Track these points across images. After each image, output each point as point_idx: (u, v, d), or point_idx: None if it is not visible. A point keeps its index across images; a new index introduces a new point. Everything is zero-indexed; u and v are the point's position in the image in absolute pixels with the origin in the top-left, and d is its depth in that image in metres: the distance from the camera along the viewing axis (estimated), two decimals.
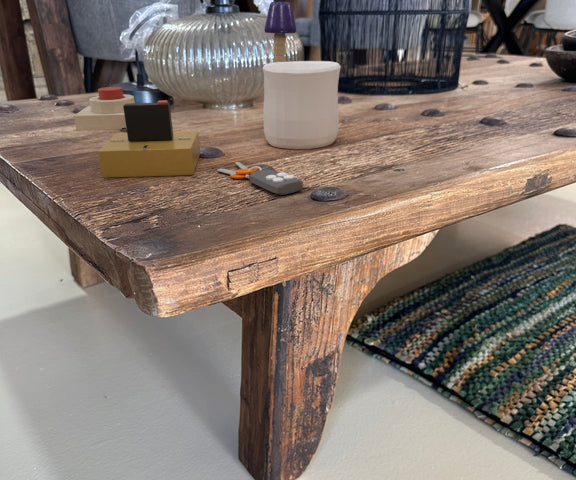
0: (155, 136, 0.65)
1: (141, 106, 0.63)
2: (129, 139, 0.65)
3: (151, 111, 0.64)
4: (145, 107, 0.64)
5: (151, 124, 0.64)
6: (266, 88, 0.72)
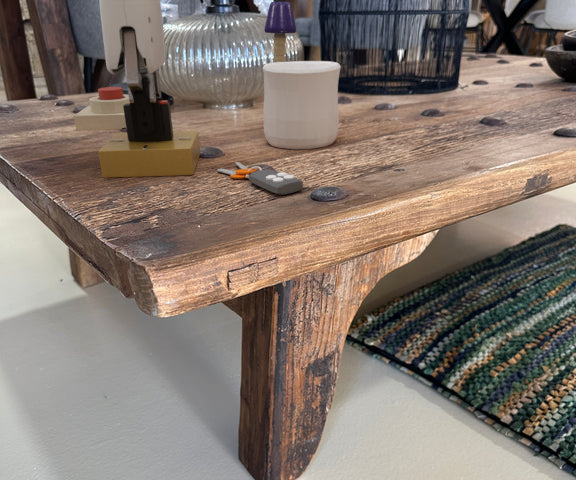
0: None
1: None
2: (129, 139, 0.65)
3: None
4: None
5: None
6: (266, 88, 0.72)
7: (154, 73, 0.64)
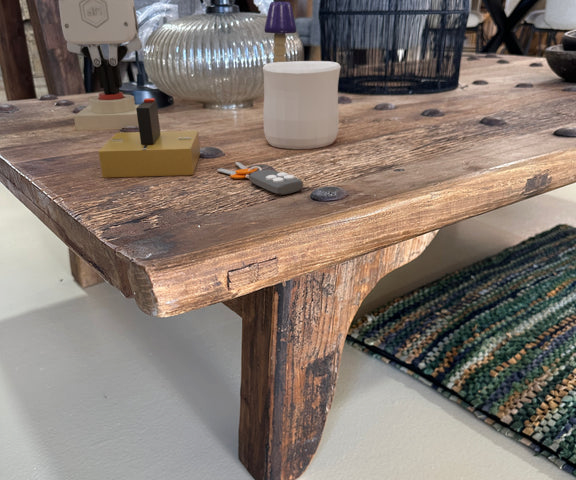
0: (157, 134, 0.66)
1: (152, 105, 0.64)
2: (153, 142, 0.64)
3: (154, 109, 0.65)
4: (153, 106, 0.64)
5: (155, 122, 0.65)
6: (266, 88, 0.72)
7: (100, 45, 0.85)
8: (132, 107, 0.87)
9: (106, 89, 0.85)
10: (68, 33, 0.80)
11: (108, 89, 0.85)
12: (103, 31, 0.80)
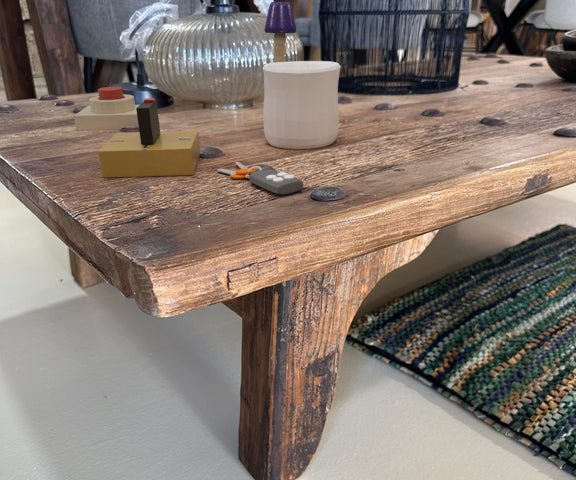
0: (157, 134, 0.66)
1: (152, 105, 0.64)
2: (153, 142, 0.64)
3: (154, 109, 0.65)
4: (153, 106, 0.64)
5: (155, 122, 0.65)
6: (266, 88, 0.72)
7: None
8: (132, 107, 0.87)
9: None
10: None
11: None
12: None
